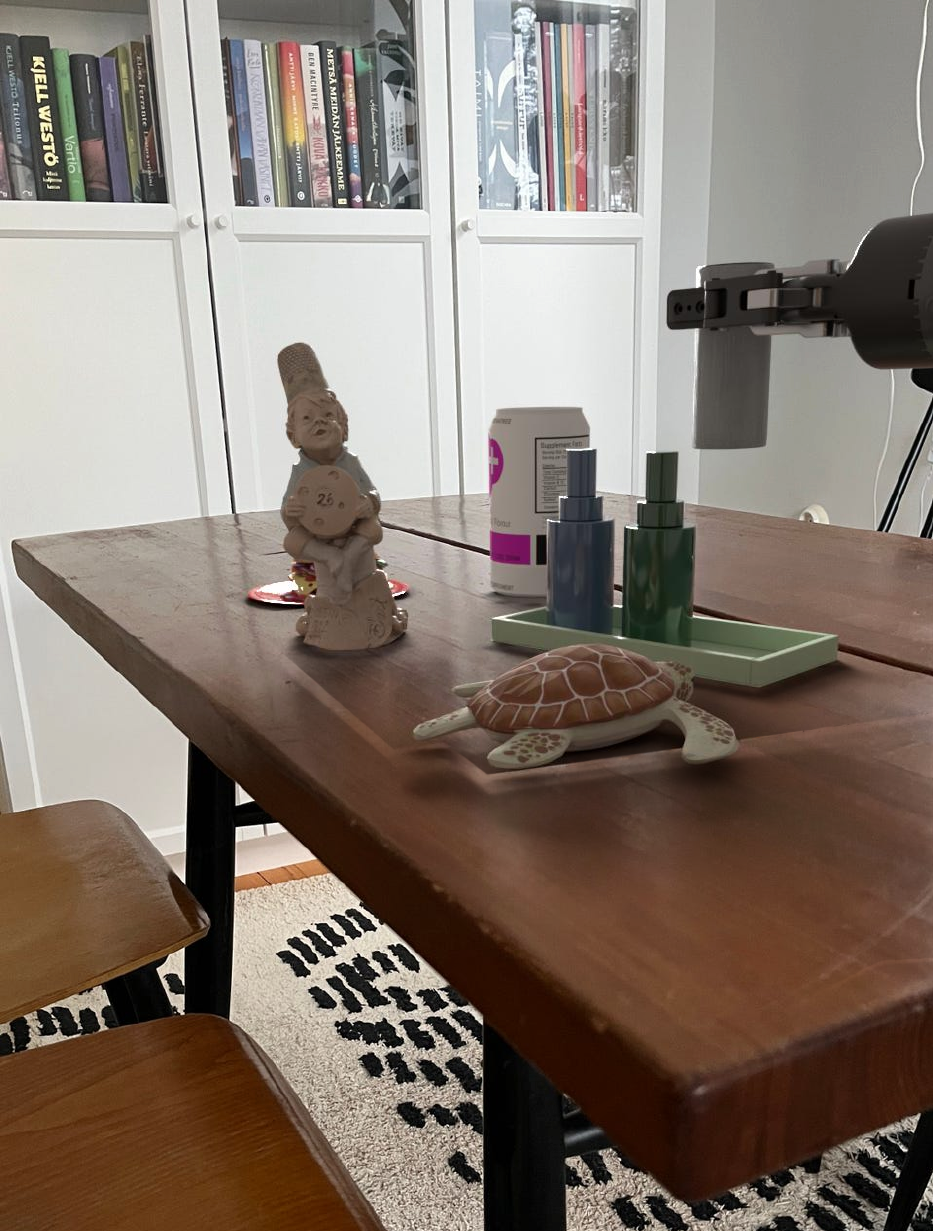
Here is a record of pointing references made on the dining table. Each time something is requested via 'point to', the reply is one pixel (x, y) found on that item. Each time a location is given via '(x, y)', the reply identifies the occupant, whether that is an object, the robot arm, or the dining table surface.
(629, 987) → the dining table surface
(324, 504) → the figurine
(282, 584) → the red plate
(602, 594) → the blue bottle
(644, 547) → the green bottle
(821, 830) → the dining table surface
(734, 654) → the tray
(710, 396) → the grey cylinder
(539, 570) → the supplement can
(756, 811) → the dining table surface
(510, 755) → the decorative turtle
